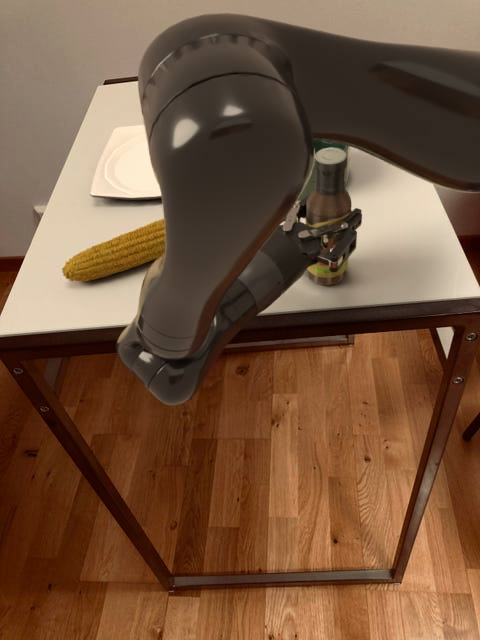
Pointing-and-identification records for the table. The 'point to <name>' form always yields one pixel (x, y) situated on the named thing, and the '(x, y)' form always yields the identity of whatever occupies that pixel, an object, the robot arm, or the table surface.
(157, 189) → the plate
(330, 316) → the table surface
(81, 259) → the food
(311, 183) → the pot
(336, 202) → the sauce bottle
